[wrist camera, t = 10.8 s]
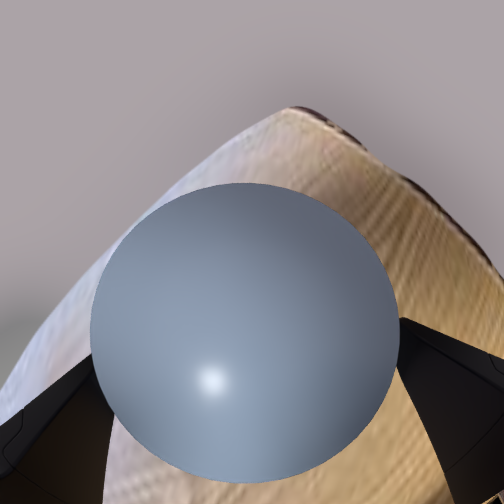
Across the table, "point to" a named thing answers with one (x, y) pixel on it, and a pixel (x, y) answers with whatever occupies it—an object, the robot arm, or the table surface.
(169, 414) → the blue-grey rounded knob
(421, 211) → the table surface
